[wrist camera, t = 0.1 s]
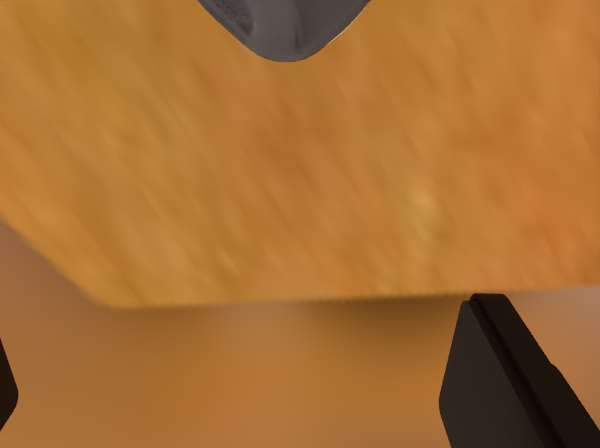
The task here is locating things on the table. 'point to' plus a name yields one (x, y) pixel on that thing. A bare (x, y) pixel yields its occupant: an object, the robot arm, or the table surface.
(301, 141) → the table surface
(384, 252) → the table surface
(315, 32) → the coffee jar
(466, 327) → the robot arm
